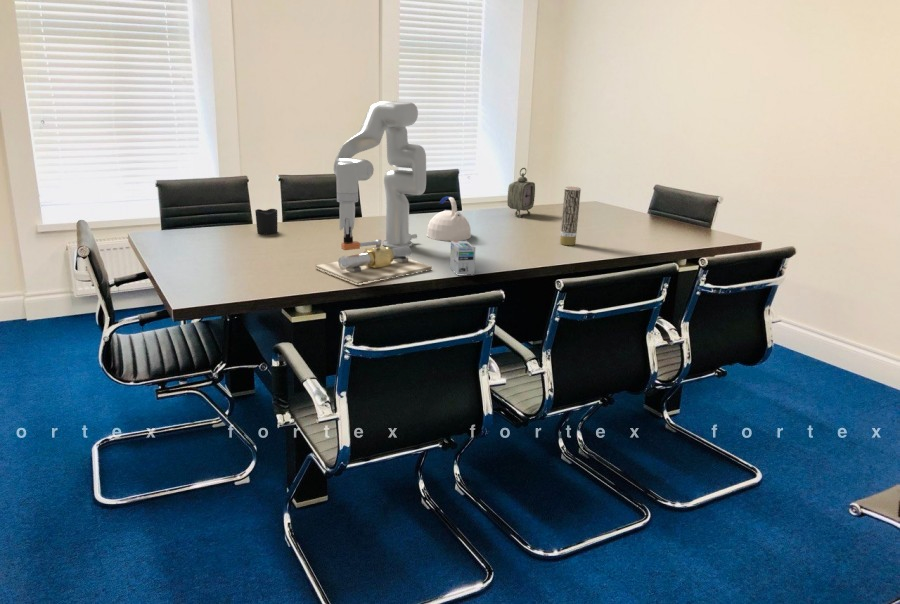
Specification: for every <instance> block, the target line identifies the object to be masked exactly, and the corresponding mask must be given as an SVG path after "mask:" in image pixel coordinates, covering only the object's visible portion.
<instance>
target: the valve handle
mask: <svg viewBox="0 0 900 604" xmlns="http://www.w3.org/2000/svg"><path fill="white" fill-rule="evenodd" d="M368 246H374V247H376V246H382V240H381V239H374V241H373V240H371V241H364V242H359V241H357V240H353V242H344V241H343V242H341V250H343V251H350V250H351V251H352V250H359V249H360V248H362V247H368Z"/></svg>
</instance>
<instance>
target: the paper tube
mask: <svg viewBox="0 0 900 604" xmlns="http://www.w3.org/2000/svg"><path fill="white" fill-rule="evenodd" d="M581 191H582V189H581V187H578V186H565V187H564V192H563V193H564V195H563V203H562V204H563V206H562V215H561V217H562V218H561V226H560V228H561V229H560V240H559V244H561V245H562V246H567V245H569V247H570V246H575V245H576V244H577V243H576V242H577V230H578V221H579V212H580V211H579V209H580V201H581Z"/></svg>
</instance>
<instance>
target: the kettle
mask: <svg viewBox="0 0 900 604" xmlns="http://www.w3.org/2000/svg"><path fill="white" fill-rule="evenodd" d="M447 200H449V201H450V205H451V210H450V209H444V210H443V211H440V212H437V213H436V214H434V216H433V217H432V218H430V220H429V223H428V224H427V231H426V237H428V238H429V239H432V240H435V241H436V240H437V241H444V242H451V241H468V240H469V239H471V237H472V233H471V226H470V223H469V221H468V219H467V218H466V217H465V216H464V215H463V214H462V213H461V212H459V211H458V208H457V207H458V206H457V202H456V200H455V198H454V197H453V196H450V195H449V196H444V197H442V198H441V199H440V201H439V202H438V203H439V204H444V203H445V201H447Z"/></svg>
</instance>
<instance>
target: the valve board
mask: <svg viewBox="0 0 900 604" xmlns="http://www.w3.org/2000/svg"><path fill="white" fill-rule="evenodd" d="M338 261H339V260H338ZM338 261H333V262H328V263H321V264H317V265H316V264H315V268H316V267H317V268H319V269H322V270H324V271H327V272H329V273H332V274H334V275H337V276H339V277H341V278H344V279H347V280H349V281H352V282H354V283H357V284H359V283H363V282H368V281H374V280H380V279H387V278H392V277H396V276H402V275H406V274H411V273H416V272H421V271H426V270H431V269H432V270H433V266H431V265H429V264H426V263H422V262H420V261H416V260H414V259H411V258H408V263H403V264H402V263H399V262H396V261H394V260H393V261H392V262H391V265H388V266H383V267H378V268H374V267H371V266H370V267H366V266H360V267H361V272H358V273H353V272H350V271H347V270H346V269H345V270H342V269H340V267H339V264H338ZM432 270H431V271H432ZM426 272H427V271H426ZM421 273H422V272H421Z"/></svg>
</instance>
